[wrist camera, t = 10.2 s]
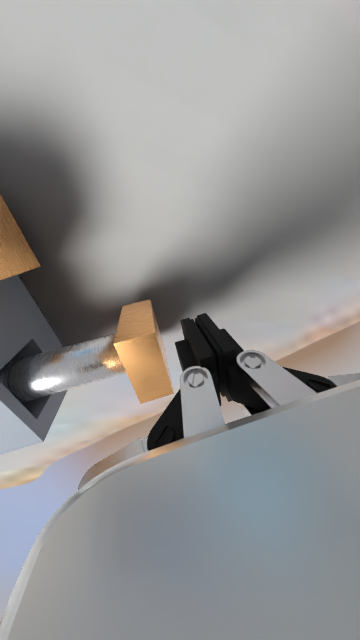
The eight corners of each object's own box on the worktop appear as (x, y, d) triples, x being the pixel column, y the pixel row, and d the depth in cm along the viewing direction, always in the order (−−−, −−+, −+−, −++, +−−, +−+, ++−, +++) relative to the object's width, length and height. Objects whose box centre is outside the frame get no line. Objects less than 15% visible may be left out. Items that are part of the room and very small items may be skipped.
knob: (150, 299, 12) (155, 332, 8) (164, 347, 15) (173, 393, 10) (-29, 343, 11) (-128, 408, 7) (14, 388, 13) (-44, 459, 9)
